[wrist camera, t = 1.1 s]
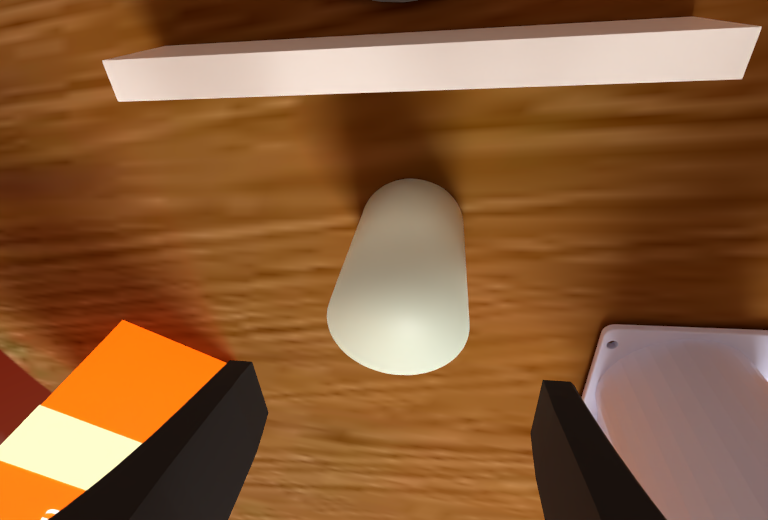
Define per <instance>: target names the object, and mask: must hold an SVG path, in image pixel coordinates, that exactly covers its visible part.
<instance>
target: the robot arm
mask: <svg viewBox="0 0 768 520" xmlns="http://www.w3.org/2000/svg"><path fill="white" fill-rule="evenodd" d="M610 341H614V342H612V343H608V342H610ZM267 415H268V410H267V407H266V404H265V401H264V397H263V394H262V391H261V388H260V385H259V382H258V379H257V376H256V373H255V370H254V366H253V363H252V362H247V361H231V360H230V361H229V362H228V363H227V364H226V365H225V366H224V367H222V368H221V369H220V370H219V371H218V372H217V373H216V374H215V375H214V376H213V377H212V378H211V379H210V380H209V381H208V382H207V383H206V384H205V385H204V386H203V387H202V388H201V389H200V390H199V391H198V392H197V393H196V394H195V395H193V396H192V397H191V398H190V399H189V400H188V401H187V402H186V403H185V404H184V405H183V406H182V407H181V408H180V409H179V410H178V411H177V412H176V413H175V414H174V415H173V416H171V417H170V418H169V419H168V420H167V421H166V422H165V423H164V424H163V425H162V426H161V427H160V428H159V429H158V430H157V431H155V432H154V433H153V434H152V435H151V436H150V437H149V438H148V439H147V440H146V441H144V442H143V443H142V444H141V445H140V446H139V447H138V448H136V449H135V450H134V451H133V452H132V453H131V454H130V455H128V456H127V457H126V458H125V459H124V460H123V461H122V462H120V463H119V464H118V465H117V466H116V467H115V468H113V469H112V470H111V471H110V472H109V473H107V474H106V475H105V476H104V477H103V478H101V479H100V480H99V481H98V482H96V483H95V484H94V485H93V486H91V487H90V488H89V489H88V490H86V491H85V492H84V493H82V494H81V495H80V496H79V497H77V498H76V499H75V500H73V501H72V502H71V503H69V504H68V505H67V506H66V507H64V508H63V509H62V510H60V511H59V512H58V513H56V514H55V515H53V516H52V517H51V518H49V519H48V520H228V518H229V516H230V514H231V511H232V509H233V507H234V504H235V502H236V500H237V498H238V495H239V493H240V491H241V488H242V486H243V484H244V481H245V479H246V476H247V474H248V472H249V469H250V467H251V465H252V462H253V460H254V457H255V455H256V452H257V449H258V446H259V443H260V440H261V436H262V433H263V430H264V426H265V422H266V419H267ZM531 441H532V450H533V459H534V467H535V475H536V481H537V485H538V490H539V495H540V499H541V504H542V508H543V512H544V517H545V520H768V330H749V329H724V328H698V327H673V326H647V325H622V324H612V325H608V326H606V327H605V328H603V330H602V332H601V335H600V338H599V341H598V345H597V348H596V351H595V355H594V358H593V361H592V364H591V368H590V371H589V374H588V378H587V381H586V384H585V388H584V391H583V394H582V397H581V396H580V395H579V393H578V391H577V390H576V388H575V386H574V385H573V384H572V383H571V382H565V381H549V380H543V382H542V386H541V391H540V395H539V399H538V404H537V408H536V412H535V417H534V421H533V425H532V430H531Z"/></svg>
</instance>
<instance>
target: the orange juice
mask: <svg viewBox="0 0 768 520" xmlns="http://www.w3.org/2000/svg"><path fill="white" fill-rule="evenodd" d="M226 364H227V363H226V362H223V361H221V360H218V359H216V358H213V357H211V356H209V355H206V354H204V353H201V352H199V351H197V350H194V349H192V348H189V347H187V346H185V345H182V344H180V343H177V342H175V341H173V340H170V339H168V338H165V337H163V336H161V335H158V334H156V333H153V332H151V331H149V330H146V329H144V328H141V327H139V326H137V325H134V324H132V323H129V322H127V321H125V320H122V321H121V322H120V323H119V324H118V325H117V326H116V327H115V328H114V329H113V330H112V331H111V332H110V334H109V335H108V336H107V337H106V338H105V339H104V340H103V341H102V342H101V343H100V344H99V345H98V346H97V347H96V348H95V349H94V350H93V351H92V352H91V353H90V354H89V355H88V356H87V358H86V359H85V360H84V361H83V362H82V363H81V364H80V365H79V366H78V367H77V368H76V369H75V370H74V371H73V372H72V373H71V374H70V375H69V376H68V377H67V378H66V379H65V380H64V381H63V383H62V384H61V385H60V386H59V387H58V388H57V389H56V390H55V391H54V392H53V393H52V394H51V395H50V396H49V397H48V398H47V399H46V400H45V401H44V403H42V405H39V406H38V407H37V408H36V409H35V410H34V411H33V412H32V413H31V414H30V415H29V416H28V417H27V419H25V420H24V421H23V423H22V424H21V425H20V426H19V427H18V428H17V429H16V430H15V431H14V432H13V433H12V434H11V435H10V436H9V437H8V438H7V439H6V440H5V441H4V442H3V443H2V444H1V445H0V520H48V519H49V518H51V517H52V516H53V515H55V514H56V513H58V512H59V511H60V510H62V509H63V508H64V507H66V506H67V505H68V504H69V503H71V502H72V501H73V500H75V499H76V498H77V497H79V496H80V495H81V494H82V493H84V492H85V491H86V490H88V489H89V488H90V487H91V486H93V485H94V484H95V483H96V482H98V481H99V480H100V479H101V478H103V477H104V476H105V475H106V474H107V473H109V472H110V471H111V470H112V469H113V468H115V467H116V466H117V465H118V464H119V463H120V462H122V461H123V460H124V459H125V458H126V457H127V456H128V455H130V454H131V453H132V452H133V451H134V450H135V449H136V448H138V447H139V446H140V445H141V444H142V443H143V442H144V441H146V440H147V439H148V438H149V437H150V436H151V435H152V434H153V433H154V432H155V431H157V430H158V429H159V428H160V427H161V426H162V425H163V424H164V423H165V422H166V421H167V420H168V419H169V418H170V417H171V416H173V415H174V414H175V413H176V412H177V411H178V410H179V409H180V408H181V407H182V406H183V405H184V404H185V403H186V402H187V401H188V400H189V399H190V398H191V397H192V396H193V395H195V394H196V393H197V392H198V391H199V390H200V389H201V388H202V387H203V386H204V385H205V384H206V383H207V382H208V381H209V380H210V379H211V378H212V377H213V376H214V375H215V374H216V373H217V372H218V371H219V370H220V369H221V368H222V367H224V366H225V365H226Z"/></svg>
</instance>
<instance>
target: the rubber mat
mask: <svg viewBox="0 0 768 520" xmlns="http://www.w3.org/2000/svg"><path fill="white" fill-rule="evenodd" d="M374 1H380V2H409V1H416V0H374Z"/></svg>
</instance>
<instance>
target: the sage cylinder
mask: <svg viewBox="0 0 768 520" xmlns="http://www.w3.org/2000/svg"><path fill="white" fill-rule="evenodd" d="M327 322H328V327H329V330H330V333H331V335H332V337H333V339H334V340H335V342H336V343H337V345H338V346H339V347H340V348H341V349H342V350H343V351H344V352H345V353H346V354H347V355H348V356H349V357H351V358H352V359H353V360H355V361H357V362H358V363H360V364H362V365H364V366H366V367H368V368H371V369H373V370H376V371H380V372H383V373H388V374H396V375H415V374H422V373H426V372H430V371H433V370H436V369H438V368H440V367H442V366H444V365H446V364H448V363H449V362H450V361H452V360H453V359H454V358H455V357H456V356H457V355H458V354H459V353H460V352H461V350H462V349H463V347H464V346H465V344H466V341H467V339H468V335H469V309H468V292H467V275H466V259H465V242H464V225H463V217H462V213H461V210H460V208H459V206H458V204H457V202H456V201H455V199H454V198H453V197H452V196H451V195H450V194H449V193H448V192H447V191H446V190H444V189H443V188H441V187H440V186H438V185H436V184H434V183H432V182H429V181H425V180H420V179H401V180H396V181H393V182H390V183H388V184H386V185H384V186H383V187H381V188H380V189H378V190H377V191H376V192H375V193H374V194H373V195H372V196H371V197H370V199H369V200H368V202H367V203H366V206H365V208H364V210H363V213H362V216H361V218H360V221H359V224H358V226H357V229H356V232H355V235H354V237H353V240H352V243H351V245H350V248H349V251H348V253H347V256H346V259H345V262H344V264H343V267H342V270H341V272H340V275H339V278H338V280H337V283H336V286H335V288H334V291H333V294H332V297H331V299H330V302H329V305H328V309H327Z"/></svg>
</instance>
